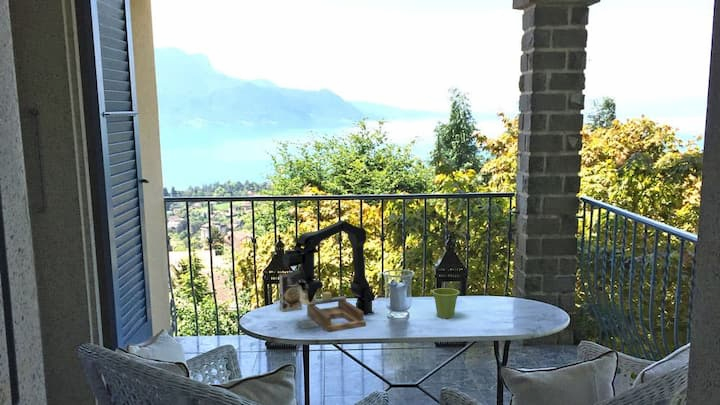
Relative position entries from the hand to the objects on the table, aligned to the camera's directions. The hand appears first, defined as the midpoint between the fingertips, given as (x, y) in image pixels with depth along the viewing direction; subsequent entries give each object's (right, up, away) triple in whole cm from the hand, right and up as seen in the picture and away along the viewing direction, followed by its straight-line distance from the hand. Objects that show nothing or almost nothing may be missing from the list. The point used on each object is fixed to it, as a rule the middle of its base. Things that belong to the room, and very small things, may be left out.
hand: (307, 300), depth 247 cm
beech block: (0, -1, 0) cm, 1 cm away
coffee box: (-10, -8, +24) cm, 27 cm away
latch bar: (+7, -3, +15) cm, 17 cm away
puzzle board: (+11, -10, +8) cm, 17 cm away
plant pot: (+60, -9, +13) cm, 62 cm away
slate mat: (0, -11, +1) cm, 11 cm away
